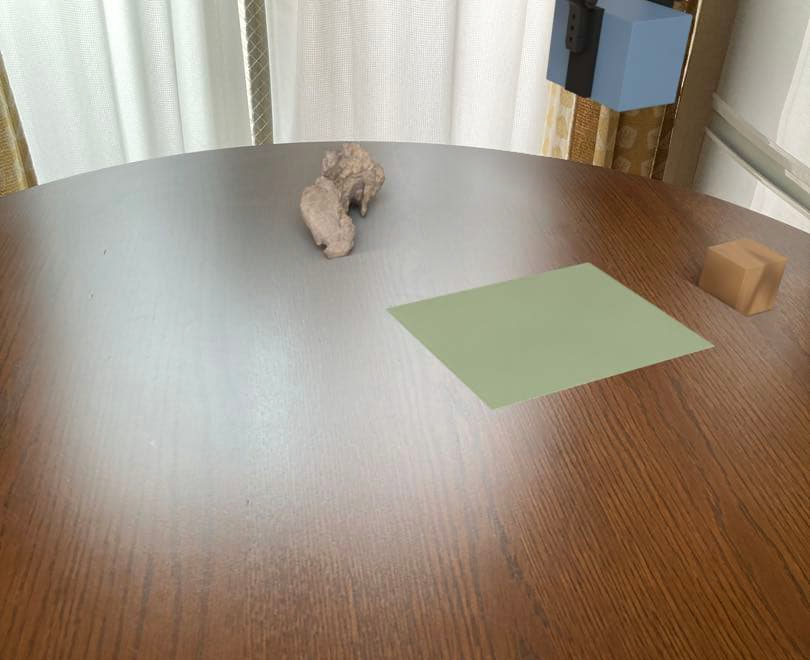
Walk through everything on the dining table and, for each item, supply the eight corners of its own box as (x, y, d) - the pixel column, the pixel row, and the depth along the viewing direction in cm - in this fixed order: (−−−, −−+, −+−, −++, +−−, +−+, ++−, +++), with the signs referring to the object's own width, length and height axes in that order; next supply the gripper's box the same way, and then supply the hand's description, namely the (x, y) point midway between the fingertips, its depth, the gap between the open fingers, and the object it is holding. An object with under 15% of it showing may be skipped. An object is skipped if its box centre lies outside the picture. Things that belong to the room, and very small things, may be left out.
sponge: (674, 103, 77) (693, 15, 72) (618, 112, 74) (633, 22, 70) (599, 71, 83) (612, -11, 79) (545, 79, 81) (555, -6, 76)
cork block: (694, 297, 78) (734, 287, 80) (731, 320, 75) (772, 309, 77) (707, 246, 75) (748, 237, 77) (746, 268, 72) (788, 258, 74)
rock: (285, 253, 82) (280, 173, 78) (335, 195, 93) (333, 121, 88) (347, 262, 81) (346, 181, 77) (391, 203, 92) (392, 128, 87)
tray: (586, 274, 81) (588, 261, 80) (711, 359, 71) (715, 345, 70) (384, 322, 74) (384, 308, 73) (490, 424, 63) (492, 409, 62)
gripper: (731, -270, 69) (664, 65, 85) (523, -279, 62) (492, 89, 77) (807, -268, 64) (722, 87, 80) (592, -277, 57) (544, 115, 73)
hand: (609, 88), depth 79 cm, fingers closed on sponge, 6 cm apart
